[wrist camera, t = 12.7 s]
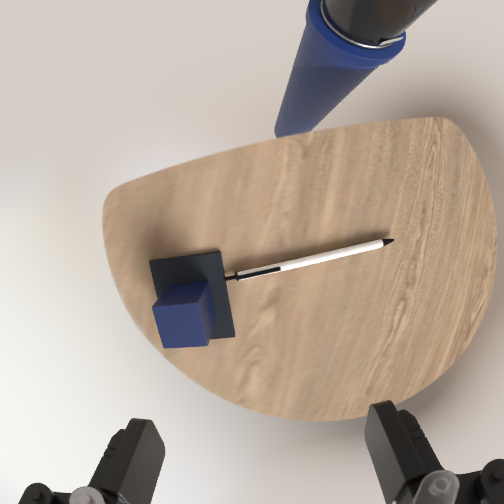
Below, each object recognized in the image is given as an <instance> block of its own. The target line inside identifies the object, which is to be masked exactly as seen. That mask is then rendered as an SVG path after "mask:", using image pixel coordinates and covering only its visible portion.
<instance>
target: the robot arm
mask: <svg viewBox="0 0 504 504" xmlns="http://www.w3.org/2000/svg"><path fill="white" fill-rule="evenodd" d="M436 1H437V0H322V1H321V4H320V14H321V17H322V19H323V21H324V23H325V25H326V26H327V27H328V28H329V30H330V31H331V32H332V33H334V34H335V35H336V36H337V37H338V38H340V39H341V40H343V41H345V42H346V43H348V44H350V45H353V46H355V47H358V48H361V49H366V50H381V49H385V48H387V47H389V46H390V45H392V44H393V43H394V42H395V41H398V40H401V39H402V38H403V37H400V38H398V37H399V36H400V35H401V34H402V33H403V32H404V31H405V30H406V29H407V28H408V27H409V26H410V25H411V24H412V23H414V21H416V20H417V19H418V18H419V17H420V16H421V15H422V14H423V13H424V12H425V11H426V10H428V9H429V8H430V7H431V6H432V5H433V4H434V3H435V2H436ZM365 441H366V444H367V447H368V450H369V453H370V456H371V459H372V462H373V465H374V468H375V471H376V474H377V477H378V480H379V483H380V486H381V489H382V492H383V495H384V498H385V501H386V504H504V459H496V460H493V461H491V462H489V463H488V464H487V465H486V466H485V467H484V468H483V470H481V471H476V472H471V473H466V474H454V473H452V472H451V471H447V470H445V469H444V468H443V467H442V466H441V465H440V463H439V461H438V459H437V457H436V455H435V453H434V451H433V449H432V447H431V445H430V444H429V442H428V440H427V438H426V437H425V434H424V433H423V431H422V429H420V425H419V424H418V422H417V420H416V418H415V417H414V416H413V415H411V414H410V413H409V412H408V411H406V410H405V409H404V410H401V411H397V410H396V408H395V406H394V404H393V402H392V401H391V400H387V401H383V402H379V403H375V404H371V405H370V407H369V412H368V417H367V422H366V427H365ZM107 447H108V448H107V449H106V450H105V452H104V456H103V457H102V458H101V460H100V462H99V464H98V466H97V468H96V471H95V473H94V475H93V477H92V479H91V481H90V483H89V485H88V486H87V487H80V488H78V489H76V490H74V491H73V492H72V493H60V492H52V491H51V490H50V489H49V488H48V487H47V486H46V485H44V484H42V483H33V484H31V485H29V486H28V487H27V488H26V490H25V492H24V494H23V495H22V497H21V499H20V501H19V503H18V504H150V503H151V500H152V497H153V493H154V490H155V487H156V483H157V480H158V477H159V473H160V470H161V467H162V463H163V460H164V457H165V446H164V443H163V441H162V439H161V437H160V435H159V433H158V431H157V429H156V427H155V425H154V423H153V422H152V420H147V419H137V418H132V419H131V420H130V421H129V423H128V425H127V427H126V429H120V430H119V431H118V432H117V433H116V434H115V435H114V436H113V437H112V438H111V440H110V442H109V444H108V446H107Z"/></svg>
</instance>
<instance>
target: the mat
mask: <svg viewBox="0 0 504 504" xmlns="http://www.w3.org/2000/svg"><path fill="white" fill-rule="evenodd" d="M149 263H150V267H151V272H152V276H153V280H154V285H155V289H156V293H157V297H158V299H159V297H160V296H161V295H162V294H163V293H164V291H165V290H166V289H167V288H168V287H169V286H170V285H177V284H186V283H195V282H204V281H209V285H210V290H211V295H212V300H213V305H214V310H215V315H216V320H215V324H214V327H213V330H212V334H211V337H210V339H219V338H230V337H235V331H234V326H233V320H232V315H231V309H230V303H229V298H228V292H227V286H226V281H225V280H224V278H225V275H224V269H223V263H222V257H221V252H212V253H205V254H197V255H190V256H182V257H175V258H167V259H160V260H152V261H150V262H149Z"/></svg>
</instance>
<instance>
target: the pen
mask: <svg viewBox="0 0 504 504" xmlns="http://www.w3.org/2000/svg"><path fill="white" fill-rule="evenodd" d="M394 240H395V239H379V240H375V241H371V242H366V243H362V244H358V245H354V246H350V247H346V248H341V249H337V250H333V251H329V252H324V253H320V254H316V255H312V256H307V257H303V258H299V259H294V260H290V261H285V262H281V263H277V264H272V265H268V266H263V267H259V268H254V269H250V270H245V271H241V272H236V273H235V275H234V276H229V277H225V278H224V280H225V281H228V280H232V279H236V280H237V281H239V280H243V279H248V278H253V277H257V276H262V275H266V274H271V273H275V272H279V271H284V270H288V269H293V268H297V267H301V266H306V265H310V264H314V263H318V262H323V261H327V260H331V259H335V258H339V257H343V256H348V255H352V254H356V253H360V252H364V251H368V250H372V249H376V248H380V247H383V246H385V245H387V244H389V243H391V242H393V241H394Z"/></svg>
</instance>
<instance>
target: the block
mask: <svg viewBox="0 0 504 504" xmlns="http://www.w3.org/2000/svg"><path fill="white" fill-rule="evenodd" d="M152 309H153V313H154V317H155V320H156V324H157V327H158V331H159V334H160V338H161V341H162V344H163V347H164V348H183V347H199V346H208V344H209V341H210V337H211V334H212V330H213V327H214V324H215V320H216V315H215V310H214V305H213V300H212V295H211V290H210V285H209V281H204V282H195V283H186V284H177V285H170V286H169V287H168V288H167V289H166V290H165V291H164V293H163V294H162V295H161V296H160V297H159V299H158V300H157V301H156V302H155V303H154V305H153V306H152Z"/></svg>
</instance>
